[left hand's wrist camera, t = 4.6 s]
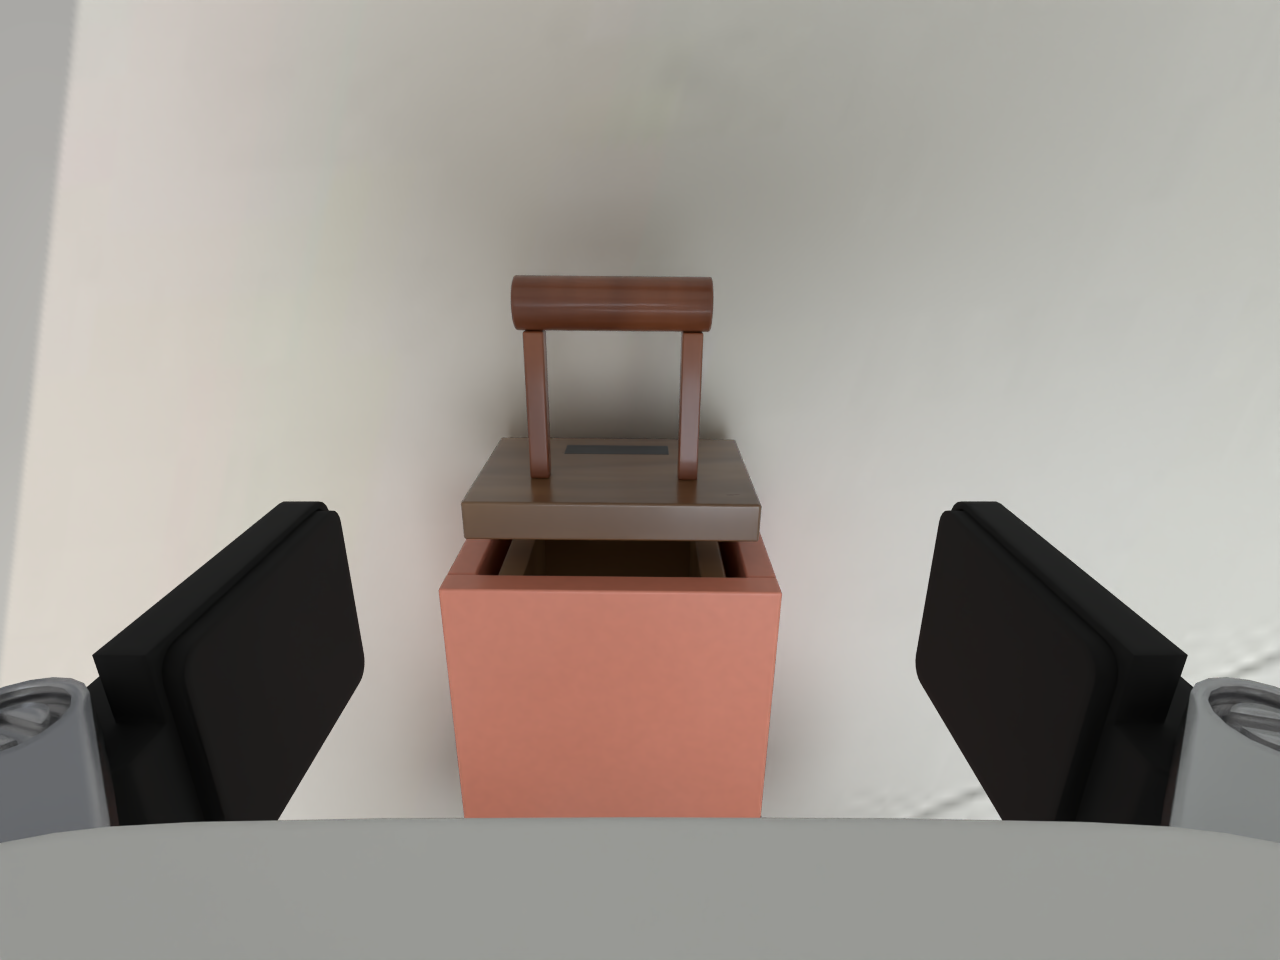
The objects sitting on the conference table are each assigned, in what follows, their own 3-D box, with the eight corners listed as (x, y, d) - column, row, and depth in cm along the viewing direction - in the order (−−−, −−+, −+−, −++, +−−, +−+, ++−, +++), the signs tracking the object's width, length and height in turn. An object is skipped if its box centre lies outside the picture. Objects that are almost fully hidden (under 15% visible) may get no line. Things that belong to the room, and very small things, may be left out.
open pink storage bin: (494, 484, 27) (437, 589, 20) (744, 487, 27) (783, 592, 20) (518, 806, 33) (481, 979, 26) (722, 808, 33) (745, 982, 26)
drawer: (489, 264, 23) (439, 282, 17) (746, 267, 23) (779, 285, 17) (523, 763, 31) (496, 888, 25) (715, 765, 31) (731, 890, 25)
